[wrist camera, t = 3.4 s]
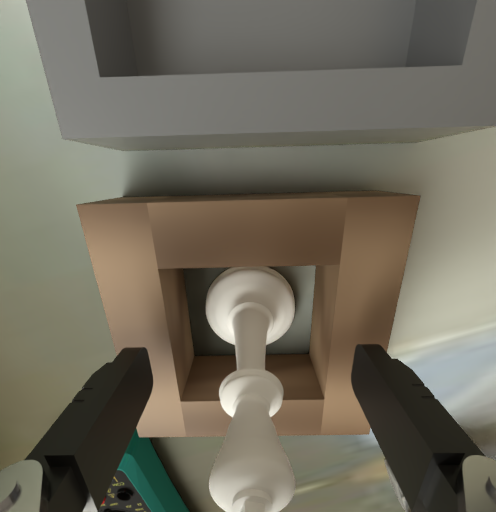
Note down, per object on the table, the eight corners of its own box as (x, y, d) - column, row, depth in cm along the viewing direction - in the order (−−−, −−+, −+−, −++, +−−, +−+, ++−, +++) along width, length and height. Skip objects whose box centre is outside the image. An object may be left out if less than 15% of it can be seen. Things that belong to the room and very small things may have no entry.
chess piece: (306, 276, 12) (504, 617, 3) (278, 348, 14) (342, 721, 4) (216, 253, 12) (89, 560, 2) (198, 330, 13) (77, 698, 4)
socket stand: (121, 197, 11) (76, 204, 8) (375, 190, 11) (420, 195, 8) (160, 387, 15) (138, 437, 12) (345, 384, 15) (368, 434, 12)
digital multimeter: (143, 412, 16) (120, 460, 13) (205, 525, 21) (198, 578, 18) (51, 428, 17) (12, 477, 14) (131, 534, 22) (114, 587, 19)
